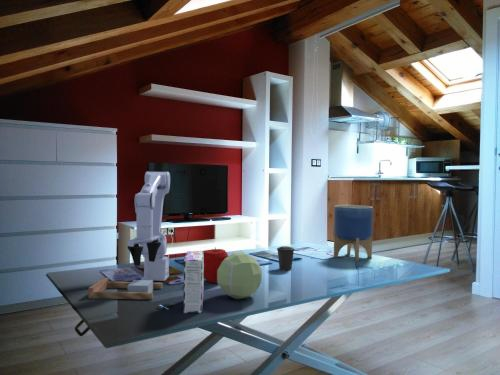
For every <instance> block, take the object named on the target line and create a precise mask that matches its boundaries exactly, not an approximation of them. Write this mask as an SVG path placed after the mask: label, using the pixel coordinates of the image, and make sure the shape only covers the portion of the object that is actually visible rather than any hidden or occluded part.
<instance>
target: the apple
mask: <svg viewBox="0 0 500 375" xmlns="http://www.w3.org/2000/svg"><path fill="white" fill-rule="evenodd" d="M203 253H204V279H205V280H206V281H207V282H208V283H211V284H218V282H217V270H218V269H219V267H220V265H221V263H222V261H224V259H225V258H227V257H228V256H229V254H228V253H227V251H226V250H225V249H222V248H217V247H214V249H207V250H203Z"/></svg>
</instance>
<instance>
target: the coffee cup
mask: <svg viewBox="0 0 500 375" xmlns="http://www.w3.org/2000/svg"><path fill="white" fill-rule="evenodd" d="M276 250H277V258H278V267H279V270H281V271H291V270H292V268H293V267H292V266H293V260H294V251H295V248H294V247H292V246H285V245H284V246H282V245H281V246H279V247H277V248H276Z"/></svg>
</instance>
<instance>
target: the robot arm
mask: <svg viewBox="0 0 500 375" xmlns="http://www.w3.org/2000/svg"><path fill="white" fill-rule="evenodd" d="M170 189H171V173H170V172H169V171H148V170H147V171H146V172H145V174H144V185H142V188H141V190H140V192H138V193H135V196H134V199H133V200H134V209H135V210H134V211H135V214H136V237H134V238H133V239H129V240H127V250H128V251H129V254H130V256H131V258H132V261H133V265H134V266H136V267H139V266H141V262H142V261H141V260H142V257H143V258H144V259H143V260H144V262H143V264H144V266H143V268H144V269H143V272H144V273H143V274H144V275H143V277H142V278H140V280H153V281H166V280H167V279H168V278H169V276H170V271H169V270H170V260H169V257H168V256H165V255H166V254H167V249H168V248H167V247H168V246H167V245H168V244H167V243H168V242H167V241H168V240H167V237H166V235H165V234H164V233H163V232H161V231H162V220H163V219H162V218H163V207H164V199H165V196H166V195H168V194H169V193H170Z"/></svg>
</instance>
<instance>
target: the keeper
mask: <svg viewBox="0 0 500 375" xmlns="http://www.w3.org/2000/svg"><path fill="white" fill-rule="evenodd" d="M130 282H131V283H130V284H129V285H128V288H127V292H151V293H153V291H154V289H153V283H154V280H141V279H133V280H132V281H130Z"/></svg>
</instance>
